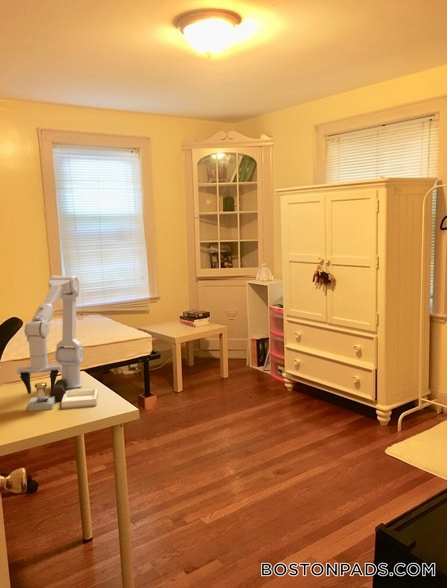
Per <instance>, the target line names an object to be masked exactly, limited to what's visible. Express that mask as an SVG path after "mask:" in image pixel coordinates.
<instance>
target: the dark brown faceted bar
mask: <svg viewBox="0 0 447 588" xmlns="http://www.w3.org/2000/svg"><path fill="white" fill-rule="evenodd" d="M67 385H68V384H67V383H66V381H65V380H64V379H62V378H61V379H56V381H55V385H54V392H51V390H50V391H49V393H48V396H55V402H57V401H62V399H63V396H64V394H65V393H66V391H67V388H66V387H67Z"/></svg>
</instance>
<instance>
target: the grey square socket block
mask: <svg viewBox="0 0 447 588" xmlns="http://www.w3.org/2000/svg"><path fill="white" fill-rule="evenodd" d="M55 403H56V401H55V396H50V395H46V402H39V403H37V396H36V397H31V398H30V400H29V402H28V404H27V412H31V411H42V410H52V409H54V406H55Z"/></svg>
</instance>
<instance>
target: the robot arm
mask: <svg viewBox="0 0 447 588" xmlns="http://www.w3.org/2000/svg"><path fill="white" fill-rule="evenodd" d="M48 289H49V290H48V293H47V295H46V298H45V300H44V302H43V303H40V305H38V307H37V309H36V311H35V313H34V315H33V316H32V319H31V320H29V321H27V322H26V324H25V325H24V330H23V331H24V336H25V337H26V342H27V343H28V348H29V349H28V350H29V351H28V352H29V360H30V361H29V364H30V365H28V366H21V367H17V368H16V374H17V375H20V376H19V377H20V380H21V381H22V382H23V384H24V387H25V388H26V391H27V394H28V395H30V394H31V393H32V386H31V374H33V373H34V374H36V373H47V372H48V373H49V377H50V391H51V392H54V385H55V383H56V382H57V377H58V374H59V372H60V375H61V379H64V380H65V381H66V383H67V384H68V385H67V387H66V389H75V388H82V386H83V385H82V384H83V381H84V380H83V378H81V363H82V362H83V360H84V357H85V351H84V346H83V343H82V342H80V341H79V340H78V339H77V338H76V337H77V332H76V331H77V297H79V296H80V280H79V279H78V277H77V275H74V274H73V275H51V277H50V278H49V280H48ZM60 298H61V299H62V334H61V335H62V339H61V341H59V342H58V343H57V344H56V348H55V353H54V359H55V361H56V362H57V364H49V359H48V345H47V336H48V335H49V333H50V327H51V321H52V319H53V317H54V314H55V306H56V304H57V302H58V300H59V299H60Z"/></svg>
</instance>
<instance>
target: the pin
mask: <svg viewBox="0 0 447 588" xmlns="http://www.w3.org/2000/svg"><path fill="white" fill-rule="evenodd" d="M47 383H48V382H44V381H42V382H36V383H34V388H35V389H36V397H37V403H39V402H46V396H47V389H46V387H48V385H47Z"/></svg>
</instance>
